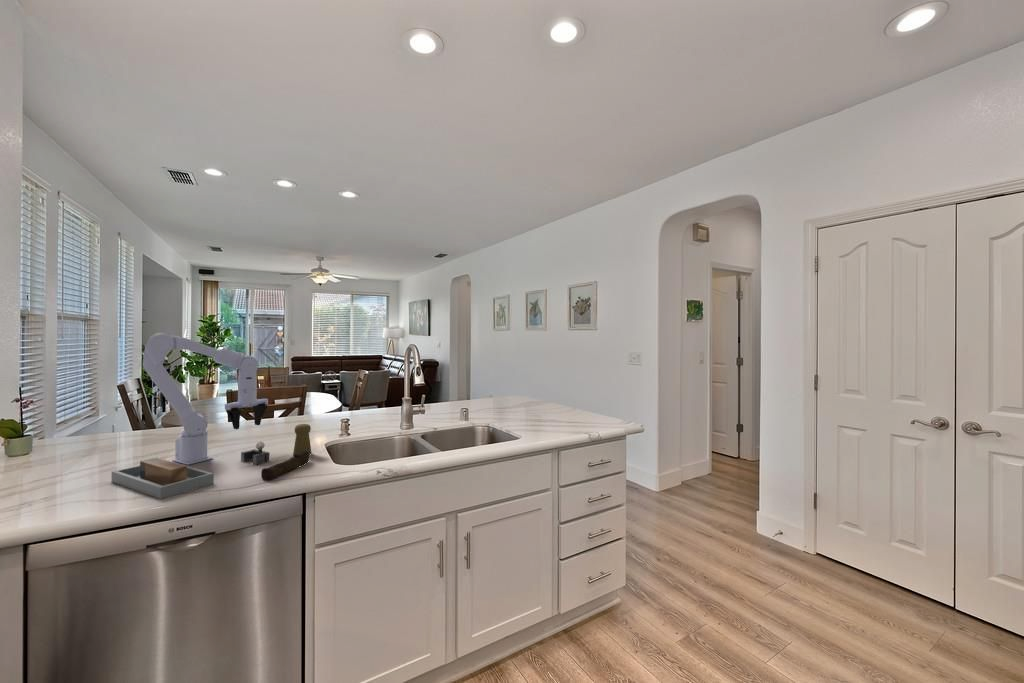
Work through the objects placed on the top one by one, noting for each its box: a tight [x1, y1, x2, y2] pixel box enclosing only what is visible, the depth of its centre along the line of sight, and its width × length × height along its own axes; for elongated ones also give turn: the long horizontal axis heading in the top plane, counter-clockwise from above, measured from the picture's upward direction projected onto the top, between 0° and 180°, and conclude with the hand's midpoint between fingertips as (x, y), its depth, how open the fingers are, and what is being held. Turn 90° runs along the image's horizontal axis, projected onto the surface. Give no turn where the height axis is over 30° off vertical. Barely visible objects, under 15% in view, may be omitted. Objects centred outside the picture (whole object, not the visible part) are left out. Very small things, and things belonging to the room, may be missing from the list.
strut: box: [139, 457, 188, 486], centre depth 122 cm, size 4×16×5 cm, turn 64°
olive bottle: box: [292, 423, 312, 457], centre depth 152 cm, size 6×6×11 cm
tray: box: [111, 460, 215, 500], centre depth 122 cm, size 26×13×3 cm, turn 64°
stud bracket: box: [240, 441, 270, 465], centre depth 144 cm, size 8×5×6 cm, turn 64°
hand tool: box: [260, 451, 310, 482], centre depth 135 cm, size 19×4×5 cm, turn 166°
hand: (247, 426), depth 153 cm, fingers open, 7 cm apart
